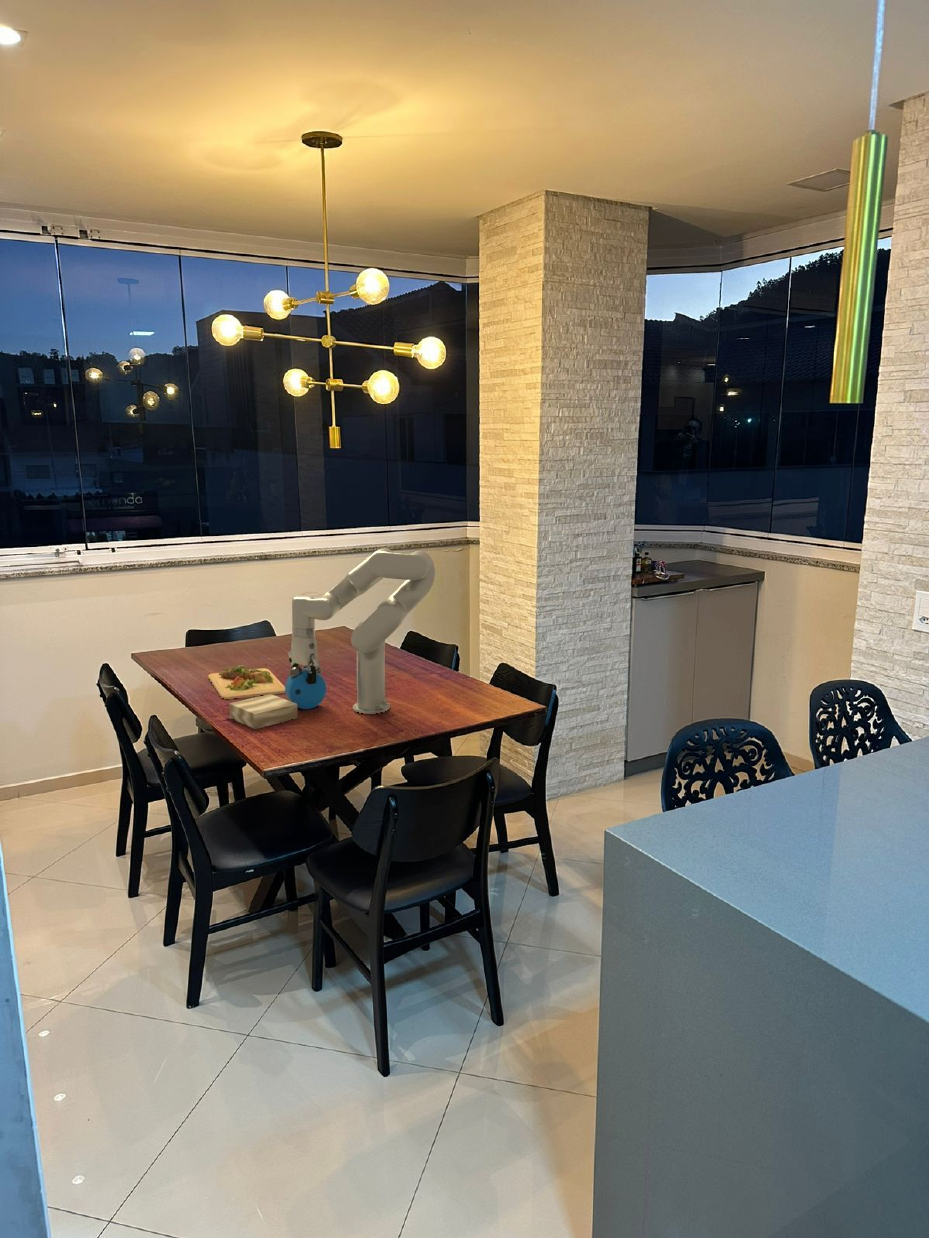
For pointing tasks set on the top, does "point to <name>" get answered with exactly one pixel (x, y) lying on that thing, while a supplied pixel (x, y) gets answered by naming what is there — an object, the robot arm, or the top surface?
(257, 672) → the cutting board
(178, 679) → the top surface
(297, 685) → the alarm clock
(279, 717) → the wooden box
